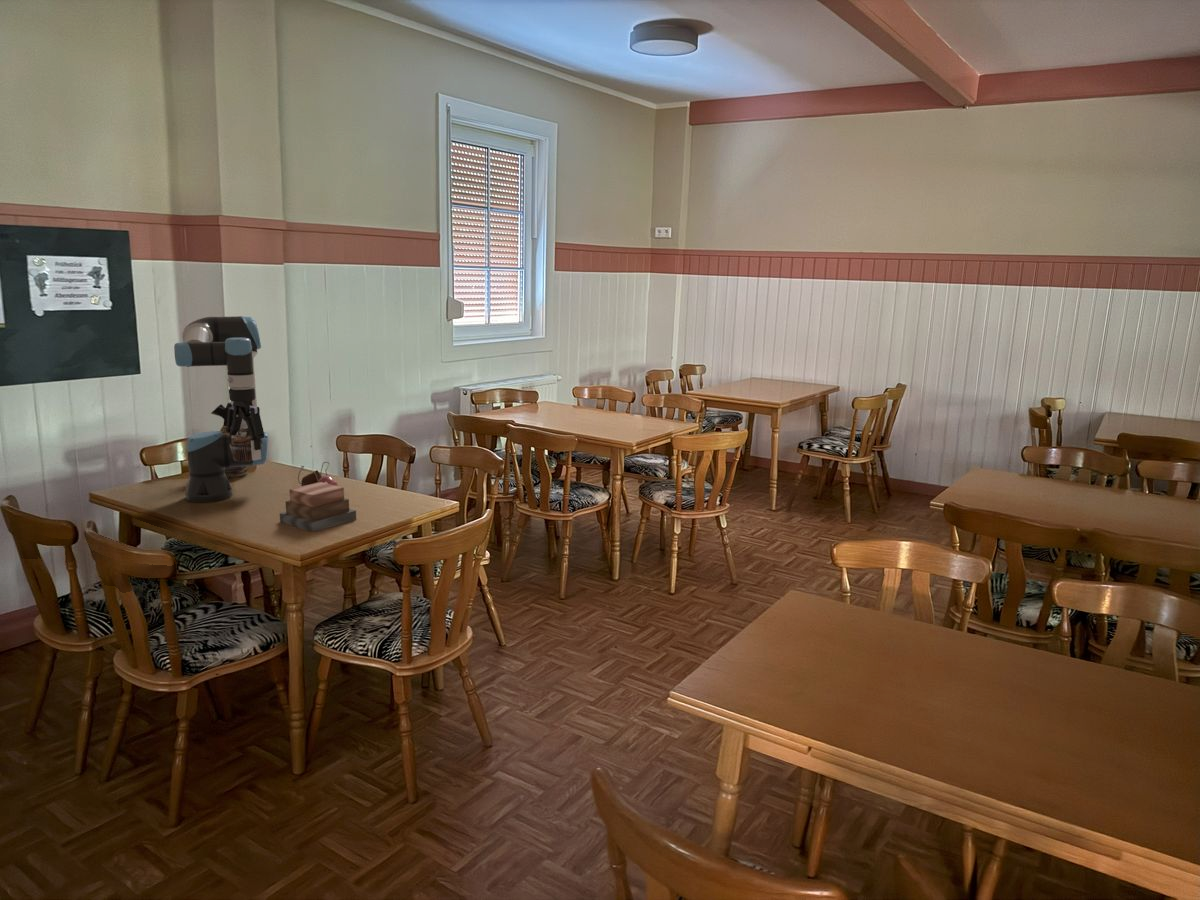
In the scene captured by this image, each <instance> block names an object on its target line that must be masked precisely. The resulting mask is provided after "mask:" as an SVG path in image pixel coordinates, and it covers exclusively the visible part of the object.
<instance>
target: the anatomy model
mask: <svg viewBox="0 0 1200 900" xmlns="http://www.w3.org/2000/svg"><path fill="white" fill-rule="evenodd" d="M326 463H327V466H326V468H325V475H322V470H323V467H324V465H325V464H326ZM329 466H330V463H329V461H324V462H322V465H321V469H320V472H319V471H318V469H316V470H315V471H312V470H309V469H306V468H305V466H304V465H301V466H300V470H299V472H298V476H297V482H298V483H299V484H300V485H301V486H305V485H309V484H314V483H318V482H323V483H327V484H331V485H335V486H338V484H339V483H338V482H337V481H335V480H334V478H333V477H332V476H329V475H328V473H327V470H328V468H329ZM302 471H306V472H309V474H306V475H305V476H303V477H302V479H301V481H300V474H301V472H302ZM301 486H300V487H301Z"/></svg>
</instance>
